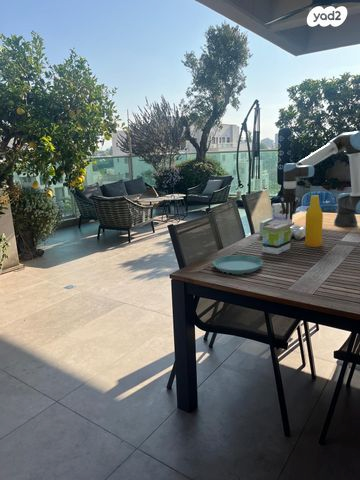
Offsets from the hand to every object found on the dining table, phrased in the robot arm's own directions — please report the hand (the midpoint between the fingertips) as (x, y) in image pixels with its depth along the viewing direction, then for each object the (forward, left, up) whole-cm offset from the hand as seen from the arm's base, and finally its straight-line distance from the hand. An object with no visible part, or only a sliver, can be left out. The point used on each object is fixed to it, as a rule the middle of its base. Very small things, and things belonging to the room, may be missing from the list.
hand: (289, 224), depth 227 cm
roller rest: (+6, -17, -8) cm, 20 cm away
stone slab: (+7, 0, -2) cm, 7 cm away
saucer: (+1, +74, -9) cm, 74 cm away
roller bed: (-4, 0, -8) cm, 9 cm away
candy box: (+17, -33, -8) cm, 38 cm away
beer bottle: (-20, +18, -8) cm, 28 cm away
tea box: (-5, +37, -8) cm, 38 cm away
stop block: (+16, 0, -8) cm, 17 cm away
